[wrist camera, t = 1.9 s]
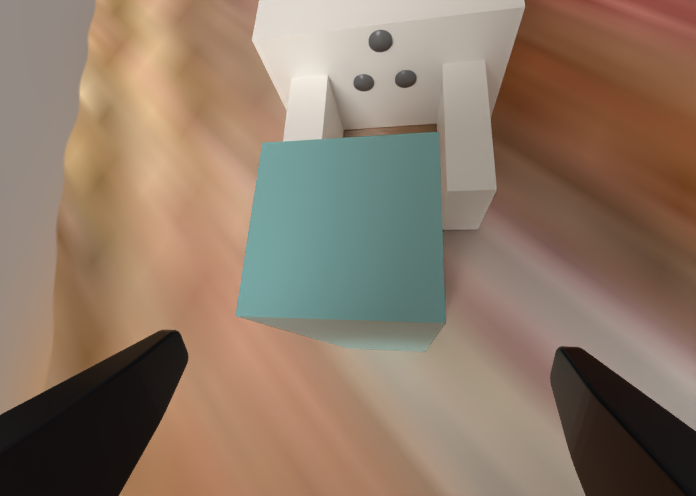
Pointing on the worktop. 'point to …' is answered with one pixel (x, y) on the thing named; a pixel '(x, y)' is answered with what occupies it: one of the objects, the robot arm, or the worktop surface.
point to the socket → (397, 78)
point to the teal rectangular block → (348, 241)
